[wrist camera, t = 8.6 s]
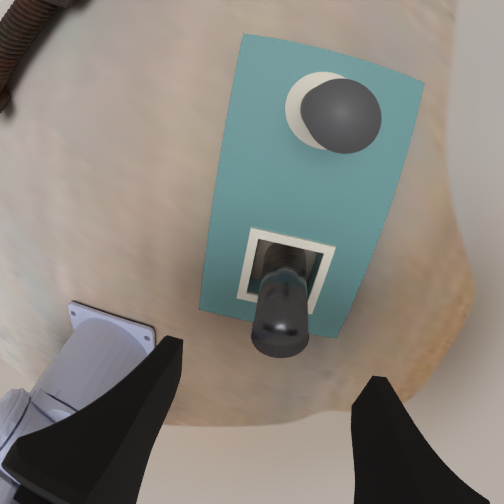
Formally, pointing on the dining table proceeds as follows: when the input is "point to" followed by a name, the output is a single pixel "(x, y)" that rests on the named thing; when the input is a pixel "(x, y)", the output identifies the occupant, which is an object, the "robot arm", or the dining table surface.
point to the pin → (282, 303)
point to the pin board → (305, 172)
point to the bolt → (22, 34)
